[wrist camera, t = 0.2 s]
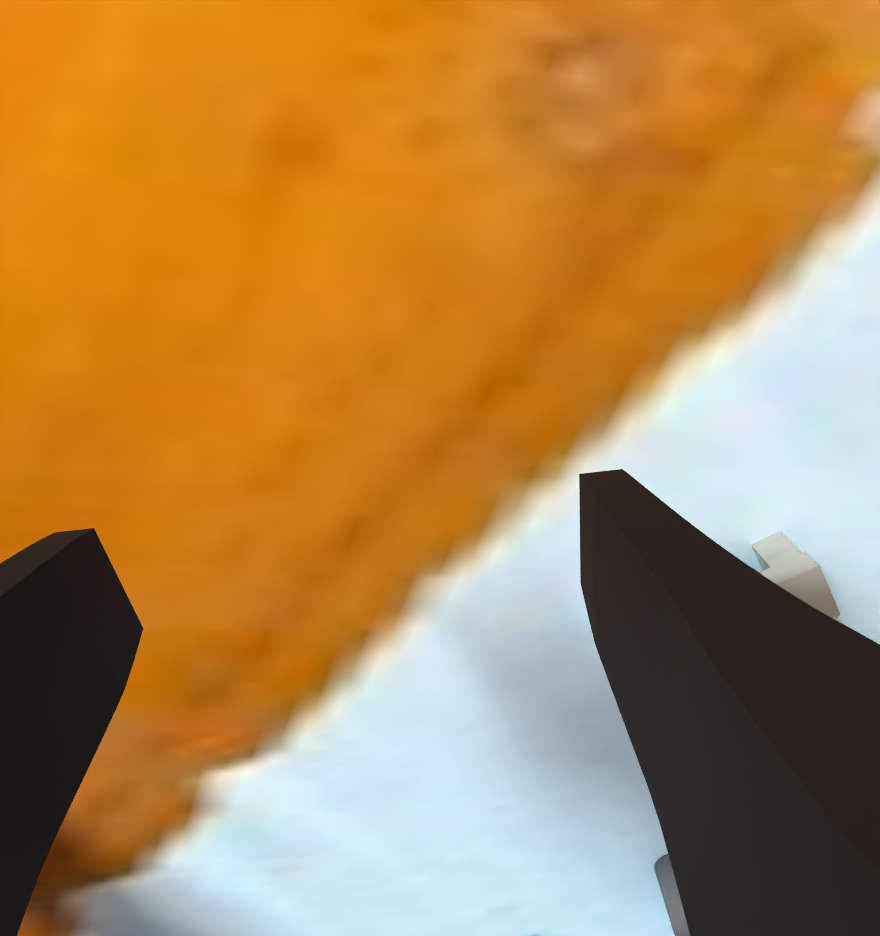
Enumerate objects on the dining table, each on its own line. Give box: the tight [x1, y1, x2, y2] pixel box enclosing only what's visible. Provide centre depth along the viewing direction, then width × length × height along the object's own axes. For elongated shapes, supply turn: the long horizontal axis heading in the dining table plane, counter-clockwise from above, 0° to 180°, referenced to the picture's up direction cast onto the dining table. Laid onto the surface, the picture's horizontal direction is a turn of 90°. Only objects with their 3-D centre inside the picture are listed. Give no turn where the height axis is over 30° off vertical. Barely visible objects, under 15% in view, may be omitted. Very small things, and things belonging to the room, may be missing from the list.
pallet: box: [751, 531, 841, 623], centre depth 22 cm, size 7×7×2 cm
